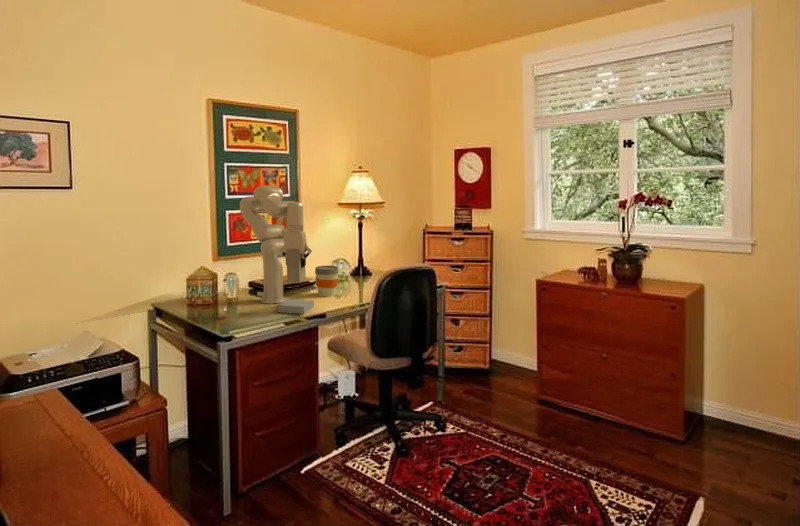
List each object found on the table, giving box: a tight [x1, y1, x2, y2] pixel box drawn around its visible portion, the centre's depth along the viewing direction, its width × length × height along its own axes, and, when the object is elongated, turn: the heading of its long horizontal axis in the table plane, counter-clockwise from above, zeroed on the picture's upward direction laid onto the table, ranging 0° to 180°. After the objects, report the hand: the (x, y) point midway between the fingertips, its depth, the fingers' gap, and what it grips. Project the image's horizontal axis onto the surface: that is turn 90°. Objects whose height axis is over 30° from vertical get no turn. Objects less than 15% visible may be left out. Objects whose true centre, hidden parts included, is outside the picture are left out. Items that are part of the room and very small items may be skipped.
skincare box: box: [285, 249, 306, 284], centre depth 256 cm, size 8×7×16 cm
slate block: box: [277, 298, 315, 315], centre depth 260 cm, size 13×13×4 cm
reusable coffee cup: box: [314, 265, 339, 298], centre depth 292 cm, size 13×13×15 cm
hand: (295, 266), depth 256 cm, fingers closed on skincare box, 6 cm apart
